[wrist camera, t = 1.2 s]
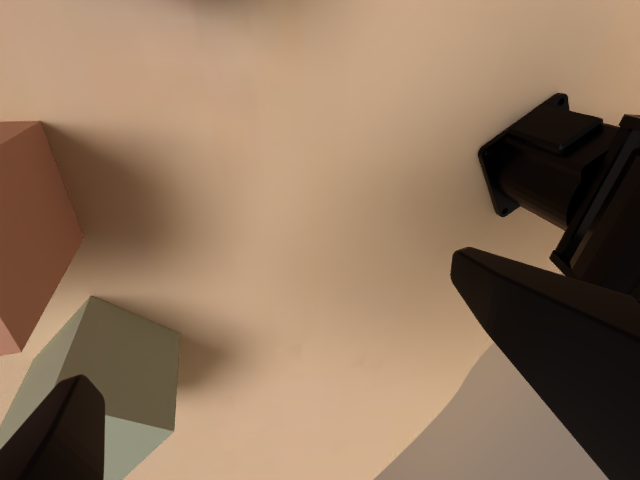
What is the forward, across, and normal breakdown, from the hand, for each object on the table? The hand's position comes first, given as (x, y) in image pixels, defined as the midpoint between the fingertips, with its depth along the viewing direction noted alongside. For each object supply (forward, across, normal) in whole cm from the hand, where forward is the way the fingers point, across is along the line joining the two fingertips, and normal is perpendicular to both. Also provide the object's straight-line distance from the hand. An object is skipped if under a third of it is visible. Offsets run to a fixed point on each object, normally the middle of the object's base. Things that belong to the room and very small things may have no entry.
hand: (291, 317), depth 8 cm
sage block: (+13, +11, +10) cm, 20 cm away
